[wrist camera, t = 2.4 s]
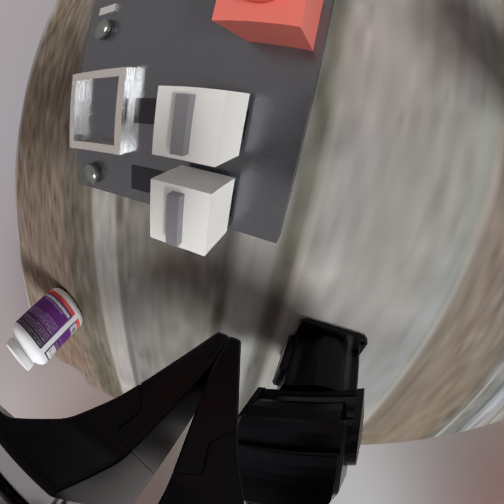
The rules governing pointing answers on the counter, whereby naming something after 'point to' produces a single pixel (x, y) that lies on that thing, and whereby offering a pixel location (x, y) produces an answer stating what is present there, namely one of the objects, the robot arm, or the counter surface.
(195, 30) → the panel
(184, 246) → the breaker
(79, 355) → the counter surface
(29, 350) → the pill bottle
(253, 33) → the red block with knob
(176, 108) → the block
